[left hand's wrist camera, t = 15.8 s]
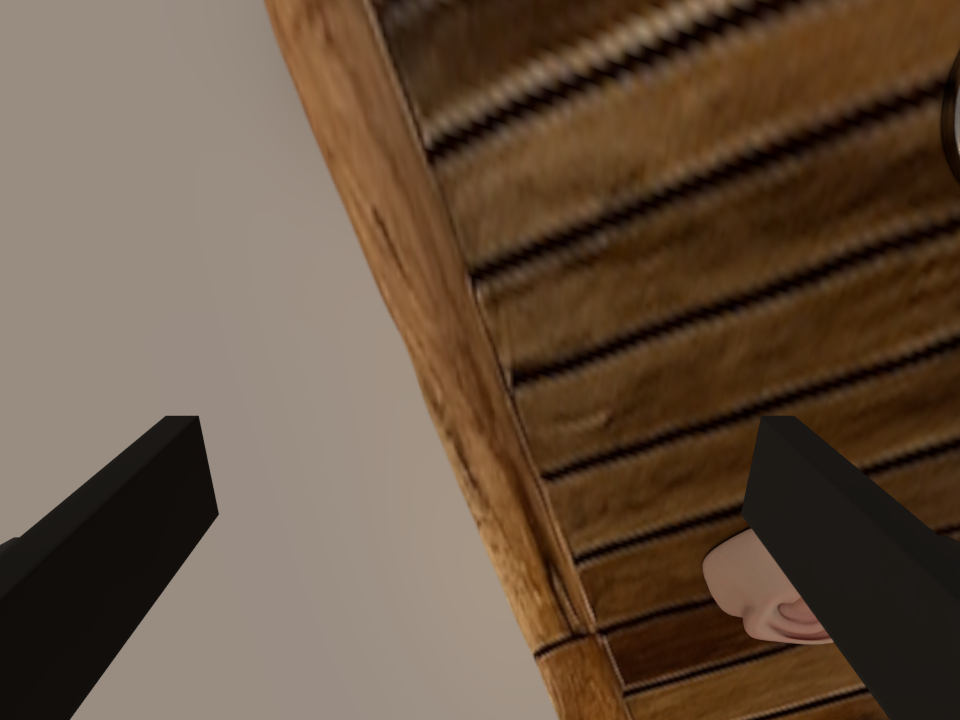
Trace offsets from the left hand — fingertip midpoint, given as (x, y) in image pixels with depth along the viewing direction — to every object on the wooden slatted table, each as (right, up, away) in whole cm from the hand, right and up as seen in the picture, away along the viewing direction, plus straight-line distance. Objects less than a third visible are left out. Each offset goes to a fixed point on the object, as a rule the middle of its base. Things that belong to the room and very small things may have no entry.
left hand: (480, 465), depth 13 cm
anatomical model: (+26, -16, +34) cm, 45 cm away
